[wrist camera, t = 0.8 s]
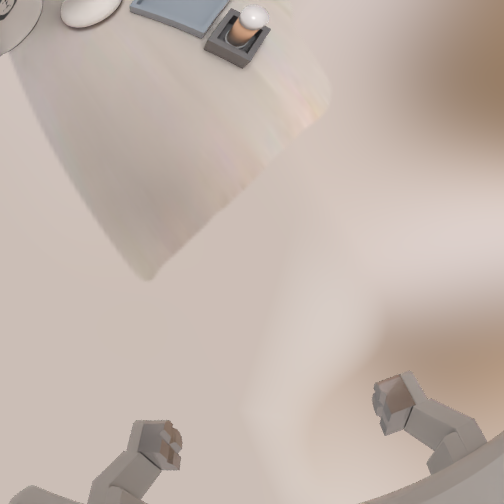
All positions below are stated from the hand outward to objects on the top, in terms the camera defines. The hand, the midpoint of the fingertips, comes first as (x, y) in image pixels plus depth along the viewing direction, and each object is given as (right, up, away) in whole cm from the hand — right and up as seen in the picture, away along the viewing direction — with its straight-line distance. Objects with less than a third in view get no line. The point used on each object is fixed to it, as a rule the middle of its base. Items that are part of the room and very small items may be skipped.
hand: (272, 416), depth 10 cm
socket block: (-4, +41, +28) cm, 50 cm away
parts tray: (-12, +50, +23) cm, 56 cm away
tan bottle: (-4, +41, +28) cm, 49 cm away
